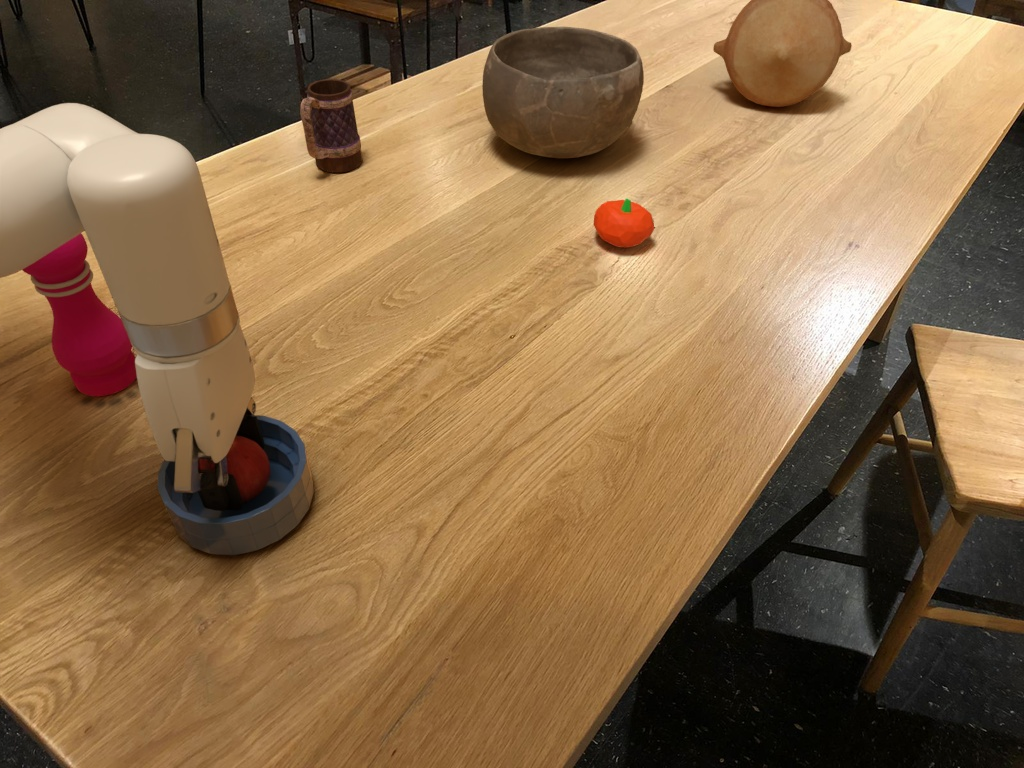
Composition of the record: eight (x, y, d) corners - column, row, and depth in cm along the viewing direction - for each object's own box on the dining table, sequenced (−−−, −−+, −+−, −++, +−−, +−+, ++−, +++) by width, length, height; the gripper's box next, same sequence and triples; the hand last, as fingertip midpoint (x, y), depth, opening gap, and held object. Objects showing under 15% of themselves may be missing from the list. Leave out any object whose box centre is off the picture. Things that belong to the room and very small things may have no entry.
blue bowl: (152, 555, 65) (134, 519, 61) (200, 448, 74) (186, 411, 70) (296, 562, 65) (286, 526, 61) (327, 453, 73) (319, 417, 70)
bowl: (666, 158, 120) (683, 61, 110) (541, 199, 110) (547, 96, 99) (572, 103, 134) (579, 12, 124) (454, 135, 124) (451, 39, 114)
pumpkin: (607, 220, 106) (612, 177, 102) (658, 239, 103) (666, 196, 98) (580, 242, 102) (584, 199, 97) (633, 263, 98) (640, 219, 94)
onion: (227, 534, 66) (205, 474, 60) (198, 493, 69) (174, 433, 63) (288, 500, 69) (272, 439, 63) (257, 462, 72) (239, 402, 66)
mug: (333, 148, 119) (321, 71, 111) (371, 158, 117) (363, 80, 109) (293, 176, 113) (278, 96, 104) (333, 187, 111) (322, 106, 102)
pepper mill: (70, 363, 82) (-13, 196, 68) (142, 347, 84) (76, 182, 70) (71, 408, 77) (-18, 237, 63) (147, 389, 79) (77, 221, 65)
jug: (702, 39, 125) (701, 6, 149) (751, 139, 133) (743, 92, 157) (824, -34, 116) (802, -58, 140) (869, 77, 124) (841, 37, 148)
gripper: (171, 244, 61) (223, 405, 73) (73, 395, 48) (156, 558, 60) (266, 248, 61) (302, 409, 73) (192, 400, 48) (251, 563, 60)
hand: (235, 475), depth 67 cm, fingers closed on onion, 5 cm apart
